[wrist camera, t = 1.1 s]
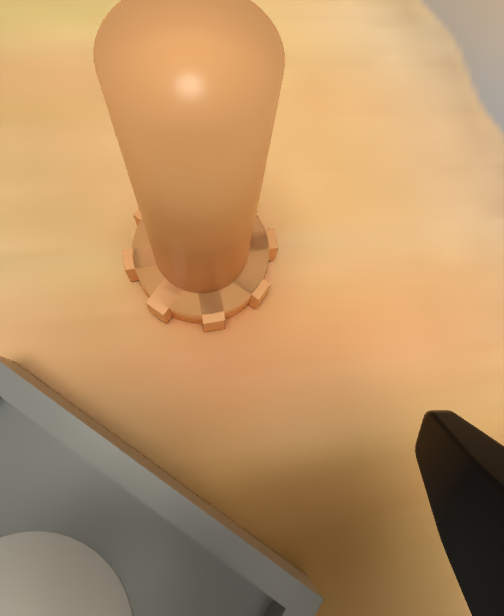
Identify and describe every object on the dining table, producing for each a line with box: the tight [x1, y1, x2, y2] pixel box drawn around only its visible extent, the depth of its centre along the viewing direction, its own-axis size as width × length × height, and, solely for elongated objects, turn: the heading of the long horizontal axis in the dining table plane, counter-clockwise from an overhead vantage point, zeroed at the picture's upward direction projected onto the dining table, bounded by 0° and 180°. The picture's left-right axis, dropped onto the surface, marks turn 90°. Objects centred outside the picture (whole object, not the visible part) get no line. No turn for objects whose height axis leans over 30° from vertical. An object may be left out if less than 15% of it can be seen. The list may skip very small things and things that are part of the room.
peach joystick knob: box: [94, 0, 285, 332], centre depth 17 cm, size 7×7×13 cm
